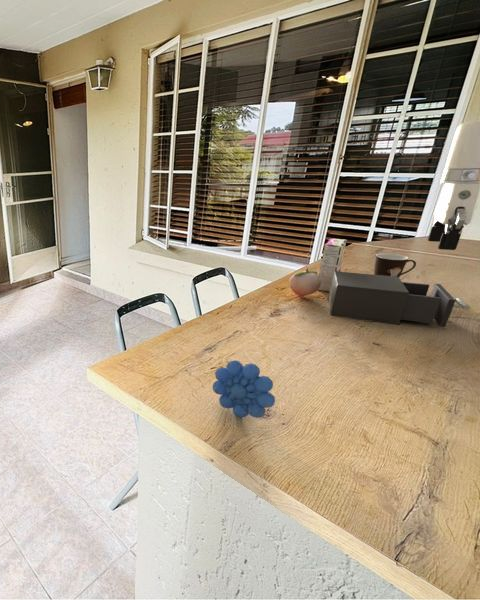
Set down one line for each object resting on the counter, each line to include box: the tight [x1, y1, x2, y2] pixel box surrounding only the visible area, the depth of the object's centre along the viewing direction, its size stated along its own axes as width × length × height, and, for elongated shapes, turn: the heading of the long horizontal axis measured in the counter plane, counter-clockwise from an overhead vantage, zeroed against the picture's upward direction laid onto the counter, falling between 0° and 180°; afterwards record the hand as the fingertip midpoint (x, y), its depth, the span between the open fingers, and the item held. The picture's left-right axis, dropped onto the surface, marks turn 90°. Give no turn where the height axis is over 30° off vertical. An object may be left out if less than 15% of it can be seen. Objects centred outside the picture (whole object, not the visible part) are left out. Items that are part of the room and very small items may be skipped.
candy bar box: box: [317, 238, 348, 293], centre depth 122 cm, size 11×5×16 cm, turn 137°
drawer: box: [400, 281, 471, 328], centre depth 98 cm, size 19×13×8 cm
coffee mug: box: [373, 253, 417, 278], centre depth 122 cm, size 12×9×10 cm
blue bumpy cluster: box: [212, 359, 276, 419], centre depth 64 cm, size 12×7×12 cm, turn 35°
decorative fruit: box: [288, 268, 321, 298], centre depth 116 cm, size 9×8×10 cm
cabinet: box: [328, 271, 409, 326], centre depth 104 cm, size 16×15×10 cm
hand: (440, 245), depth 91 cm, fingers open, 9 cm apart
